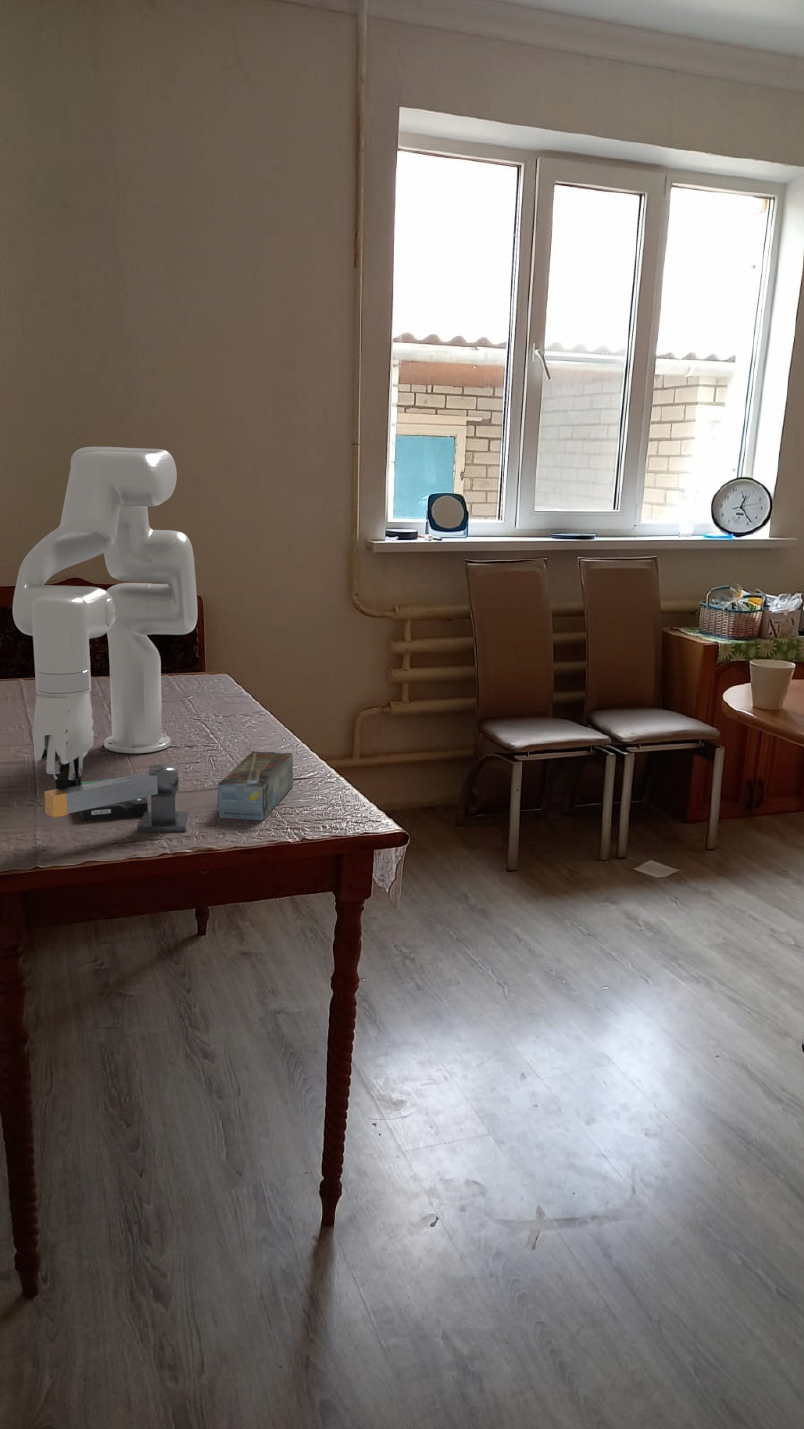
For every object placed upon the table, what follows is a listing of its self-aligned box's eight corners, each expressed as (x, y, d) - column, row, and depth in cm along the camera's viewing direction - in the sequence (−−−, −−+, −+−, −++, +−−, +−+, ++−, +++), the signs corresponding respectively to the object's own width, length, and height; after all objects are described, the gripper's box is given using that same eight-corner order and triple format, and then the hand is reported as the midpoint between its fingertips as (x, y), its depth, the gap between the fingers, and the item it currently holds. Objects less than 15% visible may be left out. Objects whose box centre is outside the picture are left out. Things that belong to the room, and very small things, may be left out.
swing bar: (169, 784, 164) (168, 762, 163) (184, 791, 161) (183, 768, 160) (42, 811, 150) (41, 787, 150) (56, 819, 147) (55, 794, 146)
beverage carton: (215, 818, 166) (214, 779, 165) (250, 783, 185) (250, 747, 183) (263, 822, 165) (263, 782, 163) (294, 787, 183) (295, 750, 182)
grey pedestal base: (144, 816, 166) (143, 786, 164) (189, 815, 166) (189, 785, 165) (138, 831, 159) (138, 800, 158) (186, 831, 160) (185, 800, 158)
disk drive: (150, 819, 167) (134, 790, 180) (149, 802, 166) (134, 774, 179) (82, 825, 162) (71, 795, 176) (81, 808, 162) (70, 779, 175)
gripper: (62, 669, 158) (68, 785, 162) (12, 691, 143) (20, 818, 148) (110, 672, 156) (115, 788, 161) (64, 695, 142) (70, 822, 147)
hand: (69, 802), depth 155 cm, fingers closed
